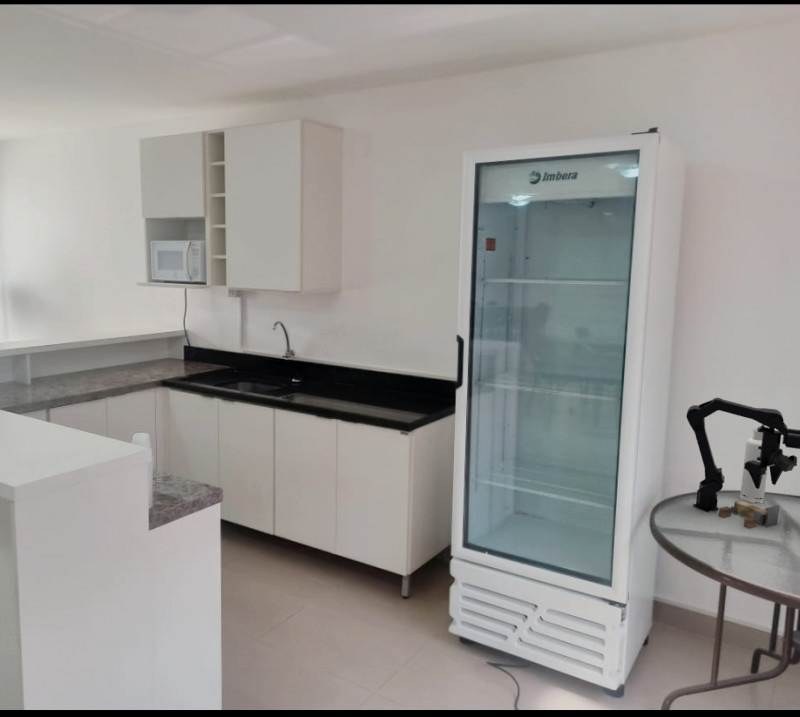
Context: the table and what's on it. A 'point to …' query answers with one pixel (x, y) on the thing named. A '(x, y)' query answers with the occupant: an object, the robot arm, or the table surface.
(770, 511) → the bracket
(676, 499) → the table surface
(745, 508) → the rail
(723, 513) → the pair of brown blocks
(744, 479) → the bottle
